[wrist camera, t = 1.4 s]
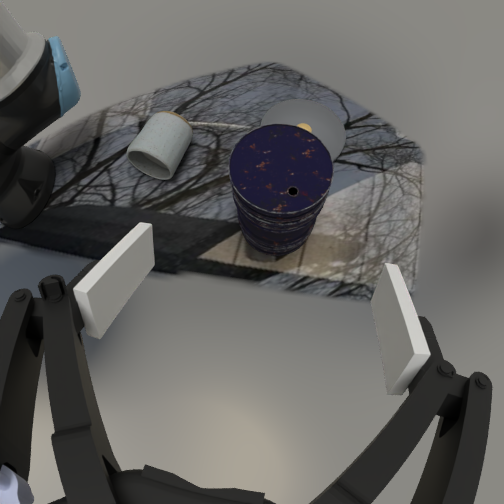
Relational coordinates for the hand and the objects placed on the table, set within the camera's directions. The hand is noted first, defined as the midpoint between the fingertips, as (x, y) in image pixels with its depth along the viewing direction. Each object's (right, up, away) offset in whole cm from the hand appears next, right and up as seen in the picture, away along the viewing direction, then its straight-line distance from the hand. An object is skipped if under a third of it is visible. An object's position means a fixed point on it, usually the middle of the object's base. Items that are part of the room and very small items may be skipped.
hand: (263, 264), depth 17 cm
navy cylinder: (+3, +5, +25) cm, 26 cm away
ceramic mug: (-15, +15, +29) cm, 36 cm away
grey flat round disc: (+7, +19, +28) cm, 35 cm away
